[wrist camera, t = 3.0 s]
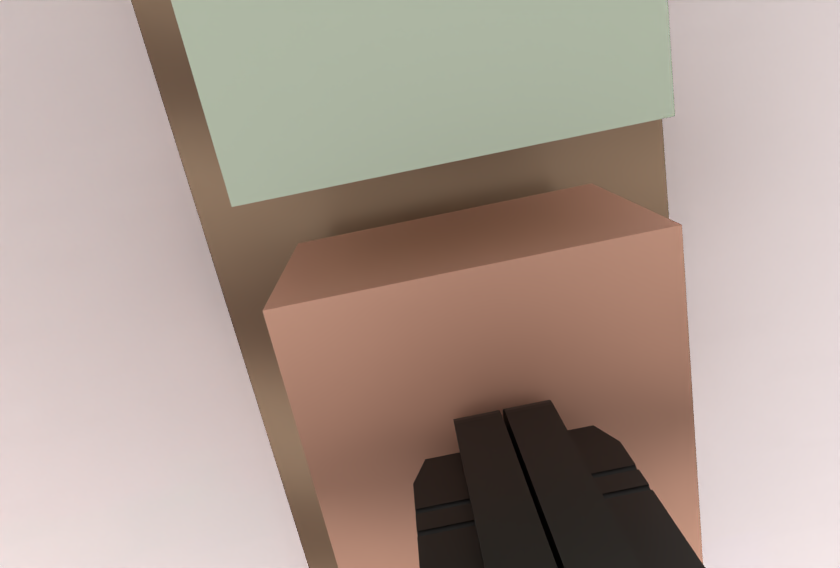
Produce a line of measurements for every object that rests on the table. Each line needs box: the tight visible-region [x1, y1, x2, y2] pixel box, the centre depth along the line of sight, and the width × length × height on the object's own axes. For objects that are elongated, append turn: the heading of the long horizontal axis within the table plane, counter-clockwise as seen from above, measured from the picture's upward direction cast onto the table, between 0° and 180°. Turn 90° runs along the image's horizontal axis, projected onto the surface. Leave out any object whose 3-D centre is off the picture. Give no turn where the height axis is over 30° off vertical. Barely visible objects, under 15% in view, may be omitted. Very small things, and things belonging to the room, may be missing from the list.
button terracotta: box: [263, 183, 703, 568], centre depth 11 cm, size 6×6×4 cm
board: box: [131, 0, 669, 568], centre depth 15 cm, size 24×11×3 cm, turn 11°
